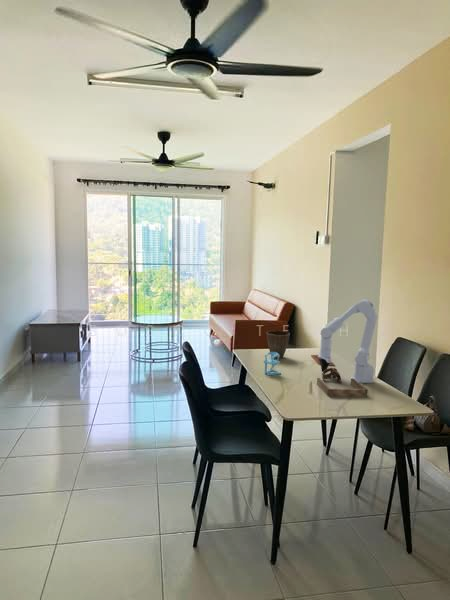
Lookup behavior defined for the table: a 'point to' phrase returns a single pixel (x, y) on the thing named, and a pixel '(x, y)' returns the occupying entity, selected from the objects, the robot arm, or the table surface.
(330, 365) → the wooden tablet
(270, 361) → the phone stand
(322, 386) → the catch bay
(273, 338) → the plant pot
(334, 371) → the pottery mug
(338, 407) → the table surface
